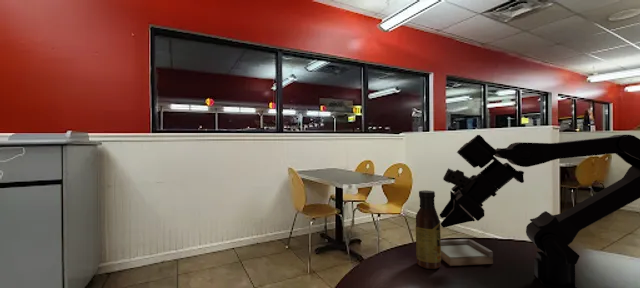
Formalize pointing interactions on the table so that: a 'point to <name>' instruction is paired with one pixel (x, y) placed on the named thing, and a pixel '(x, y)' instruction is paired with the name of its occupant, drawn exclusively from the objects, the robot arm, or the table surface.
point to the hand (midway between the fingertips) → (441, 221)
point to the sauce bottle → (428, 232)
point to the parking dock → (465, 252)
